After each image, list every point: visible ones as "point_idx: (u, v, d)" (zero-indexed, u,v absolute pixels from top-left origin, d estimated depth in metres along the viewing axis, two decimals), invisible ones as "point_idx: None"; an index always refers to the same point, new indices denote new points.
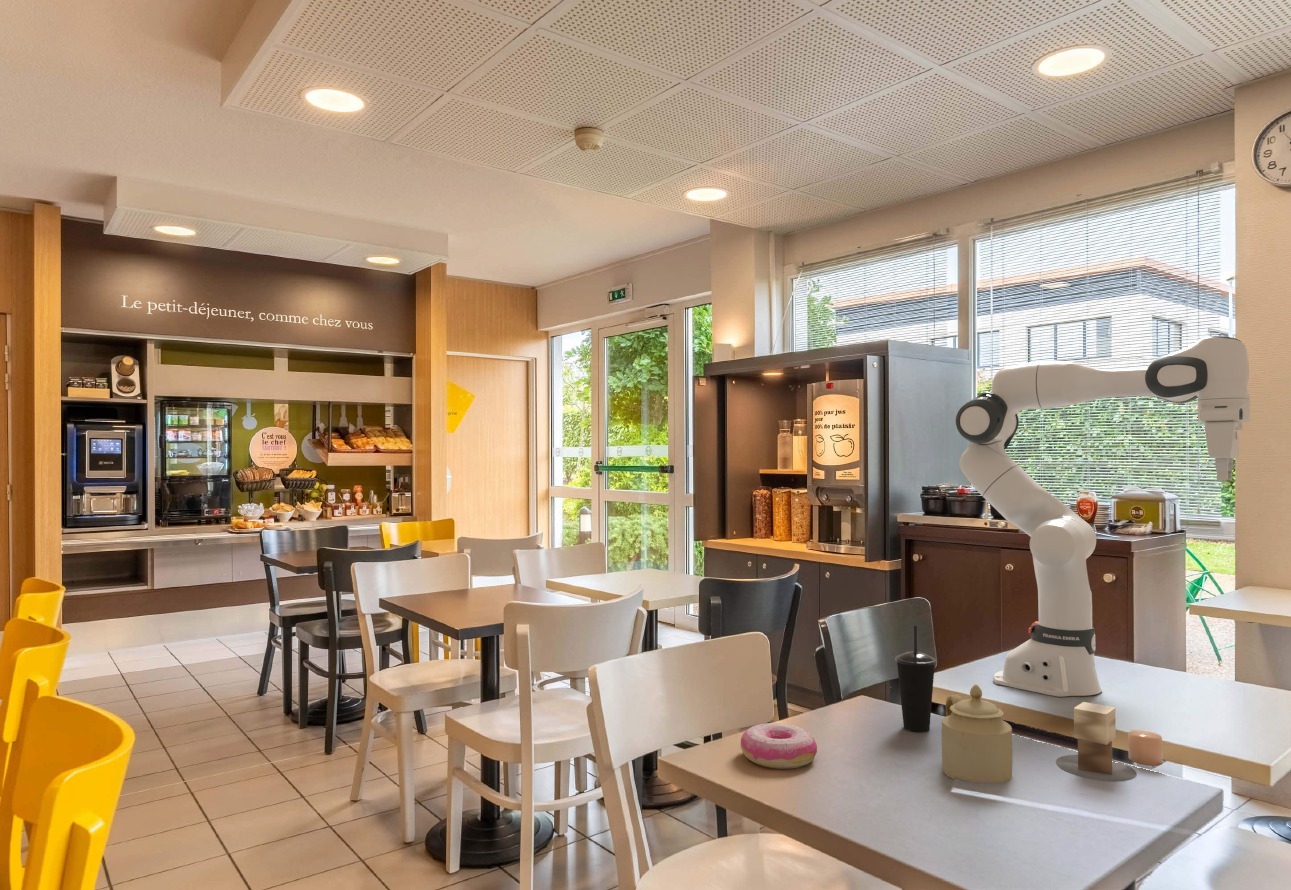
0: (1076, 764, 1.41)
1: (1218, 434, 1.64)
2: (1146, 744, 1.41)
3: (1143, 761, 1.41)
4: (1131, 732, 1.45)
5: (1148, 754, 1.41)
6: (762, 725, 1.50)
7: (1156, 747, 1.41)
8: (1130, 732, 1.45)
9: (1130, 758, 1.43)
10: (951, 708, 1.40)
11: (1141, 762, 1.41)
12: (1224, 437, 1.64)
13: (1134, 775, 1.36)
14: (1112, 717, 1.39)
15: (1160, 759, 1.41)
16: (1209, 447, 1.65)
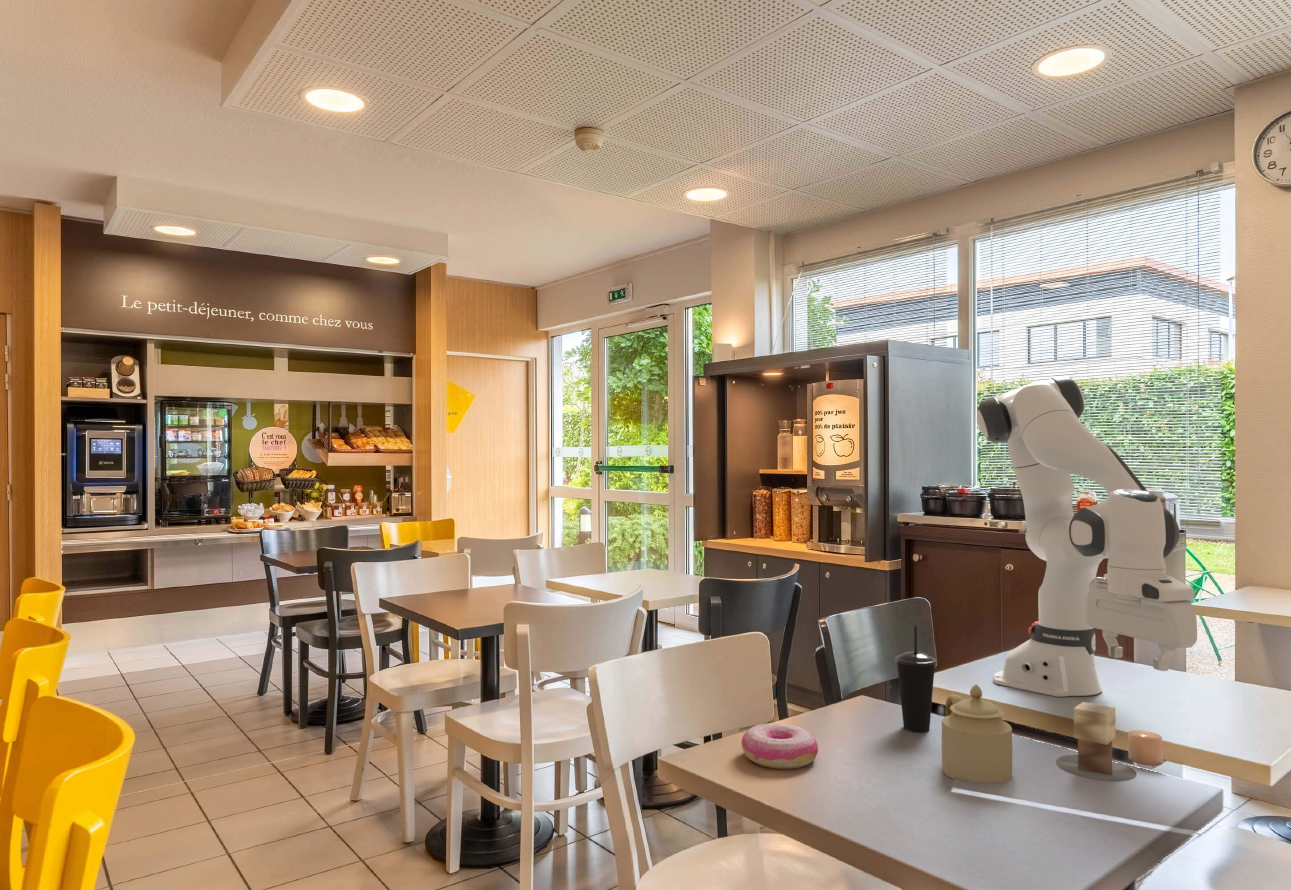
0: (1076, 764, 1.41)
1: (1186, 619, 1.35)
2: (1146, 744, 1.41)
3: (1143, 761, 1.41)
4: (1131, 732, 1.45)
5: (1148, 754, 1.41)
6: (763, 725, 1.50)
7: (1156, 747, 1.41)
8: (1130, 732, 1.45)
9: (1130, 758, 1.43)
10: (951, 708, 1.40)
11: (1141, 762, 1.41)
12: (1191, 623, 1.35)
13: (1134, 775, 1.36)
14: (1112, 717, 1.39)
15: (1160, 759, 1.41)
16: (1180, 636, 1.34)
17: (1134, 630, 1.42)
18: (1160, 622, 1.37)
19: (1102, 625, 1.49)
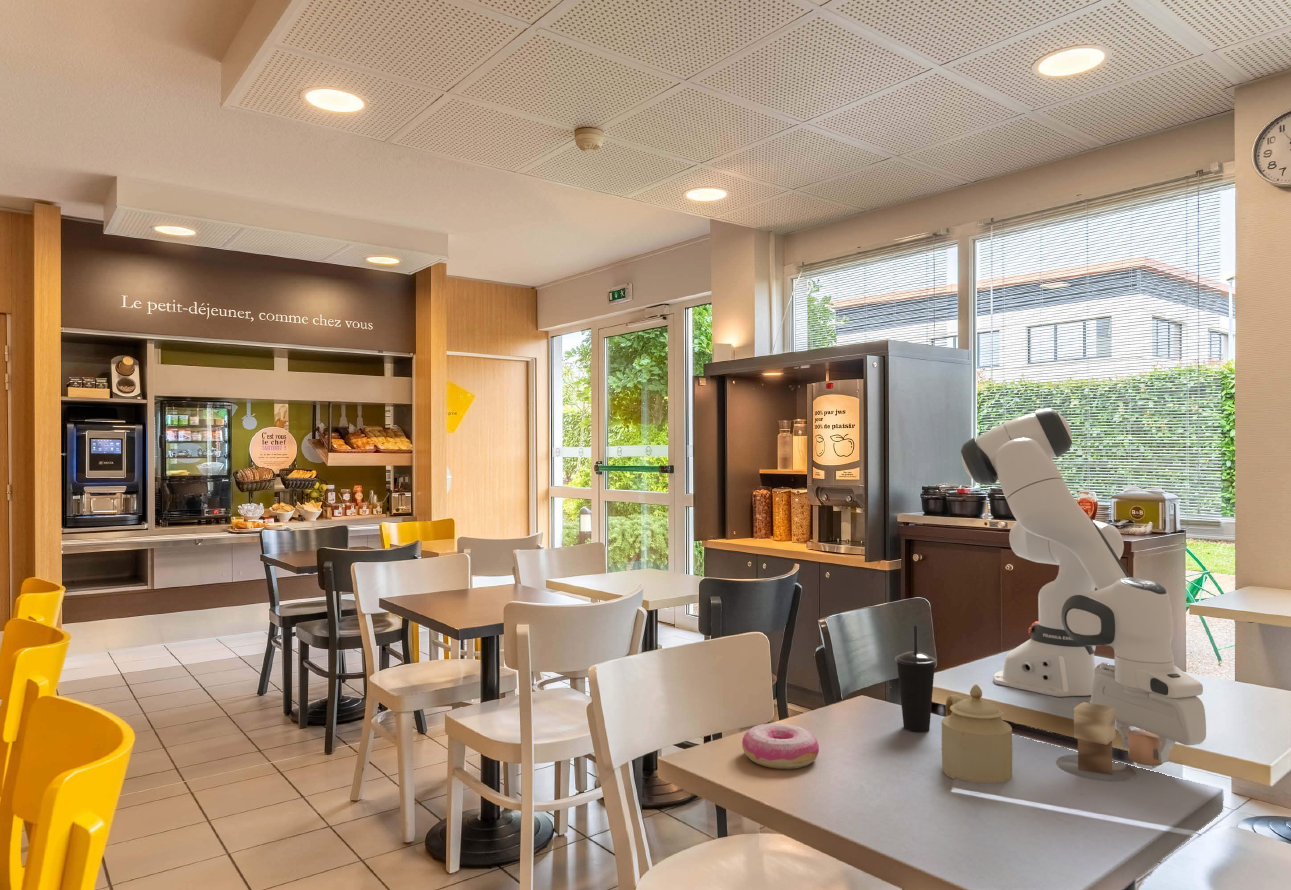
0: (1076, 764, 1.41)
1: (1195, 716, 1.34)
2: (1146, 743, 1.41)
3: (1143, 761, 1.41)
4: (1131, 732, 1.45)
5: (1147, 754, 1.41)
6: (764, 725, 1.50)
7: (1156, 746, 1.41)
8: (1130, 732, 1.45)
9: (1130, 758, 1.43)
10: (951, 708, 1.40)
11: (1141, 762, 1.41)
12: (1200, 719, 1.34)
13: (1134, 775, 1.36)
14: (1112, 717, 1.39)
15: None
16: (1189, 733, 1.33)
17: (1142, 722, 1.42)
18: (1169, 717, 1.37)
19: None
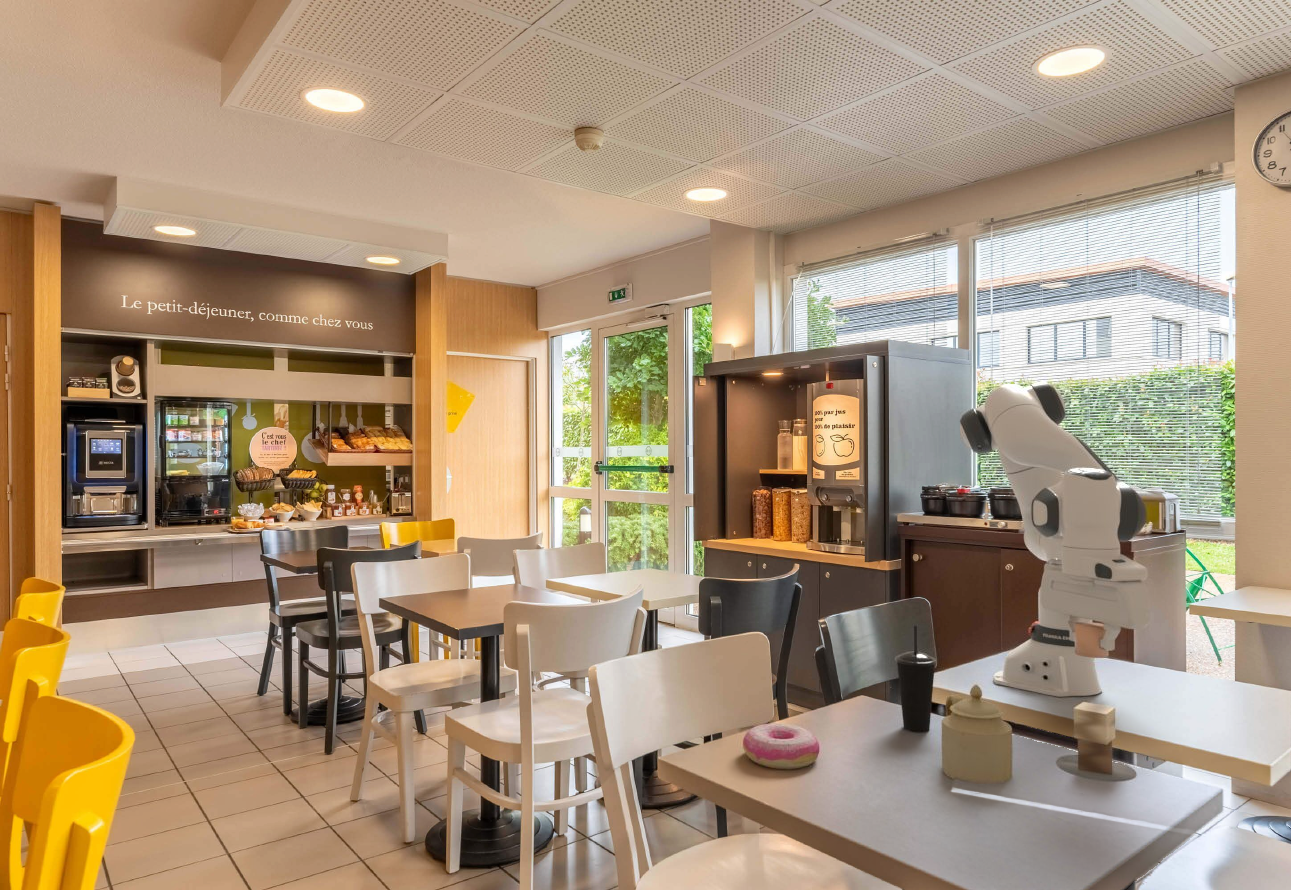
0: (1076, 764, 1.41)
1: (1139, 599, 1.31)
2: (1092, 632, 1.38)
3: (1088, 650, 1.39)
4: (1077, 623, 1.42)
5: (1093, 643, 1.38)
6: (764, 725, 1.50)
7: (1101, 635, 1.38)
8: (1076, 623, 1.42)
9: (1076, 648, 1.41)
10: (951, 708, 1.40)
11: (1086, 651, 1.39)
12: (1144, 603, 1.31)
13: (1134, 775, 1.36)
14: (1112, 717, 1.39)
15: None
16: (1133, 616, 1.31)
17: (1087, 611, 1.39)
18: (1113, 602, 1.34)
19: (1056, 607, 1.46)
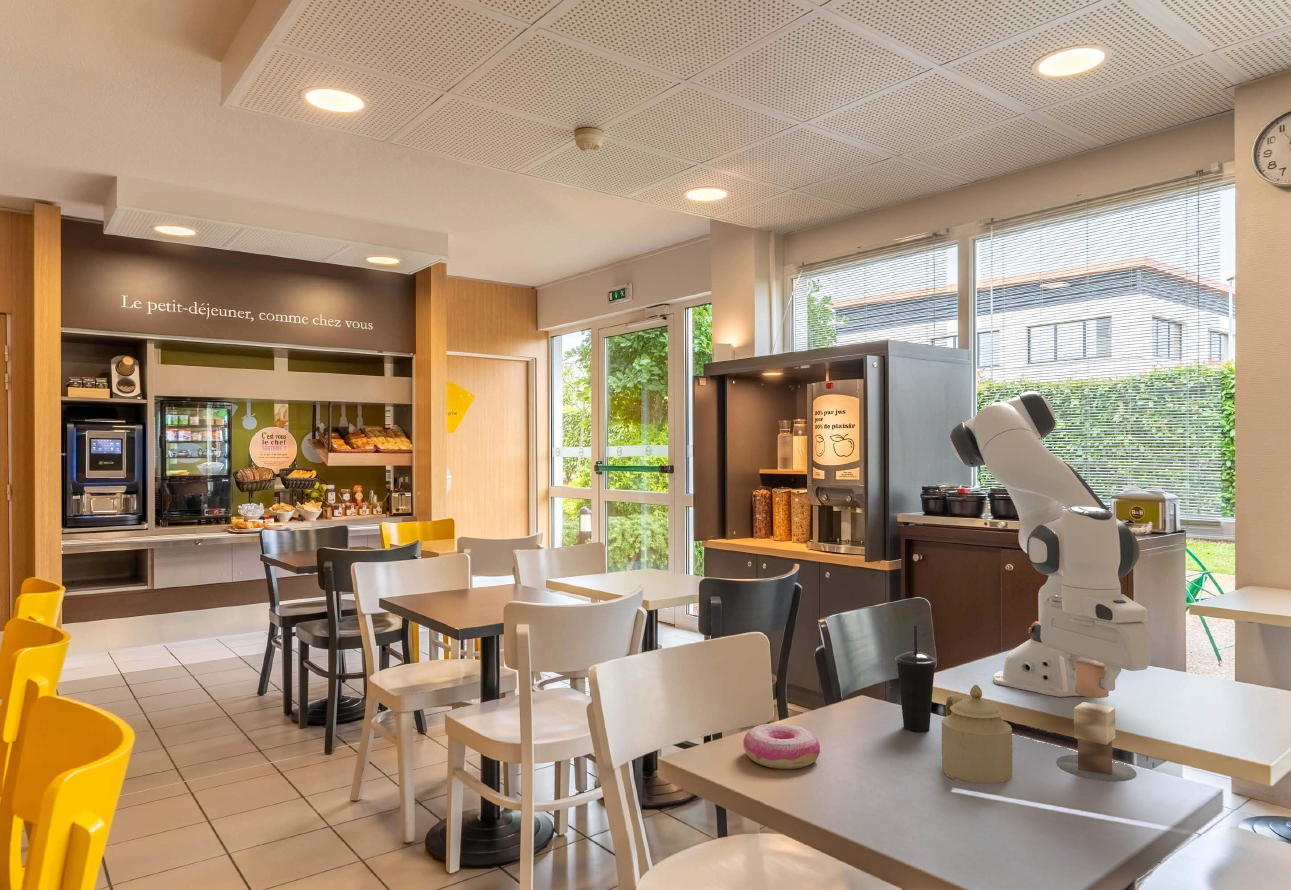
0: (1076, 764, 1.41)
1: (1139, 641, 1.31)
2: (1092, 672, 1.38)
3: (1089, 689, 1.38)
4: (1078, 662, 1.42)
5: (1093, 683, 1.38)
6: (765, 725, 1.50)
7: (1102, 674, 1.38)
8: (1077, 662, 1.42)
9: (1076, 687, 1.41)
10: (951, 708, 1.40)
11: (1087, 691, 1.39)
12: (1145, 644, 1.31)
13: (1134, 775, 1.36)
14: (1112, 717, 1.39)
15: None
16: (1133, 658, 1.30)
17: (1088, 651, 1.39)
18: (1113, 643, 1.34)
19: (1057, 645, 1.45)
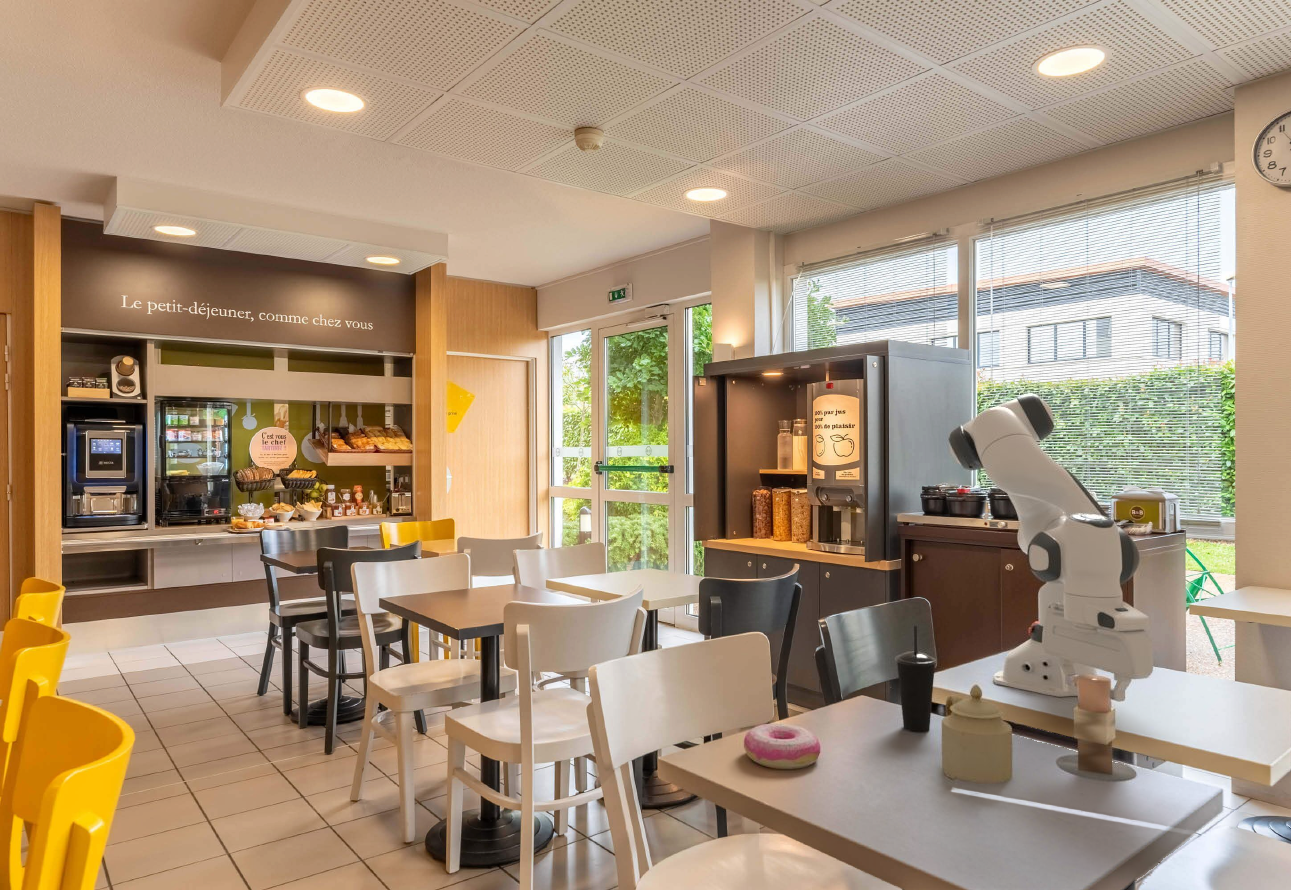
0: (1076, 764, 1.41)
1: (1141, 649, 1.31)
2: (1095, 686, 1.38)
3: (1091, 704, 1.38)
4: (1080, 676, 1.42)
5: (1096, 697, 1.38)
6: (765, 725, 1.50)
7: (1105, 689, 1.38)
8: (1079, 676, 1.42)
9: (1079, 702, 1.40)
10: (951, 708, 1.40)
11: (1089, 705, 1.38)
12: (1147, 653, 1.31)
13: (1134, 775, 1.36)
14: (1112, 717, 1.39)
15: (1109, 702, 1.38)
16: (1136, 666, 1.30)
17: (1090, 659, 1.39)
18: (1116, 651, 1.34)
19: (1059, 652, 1.45)
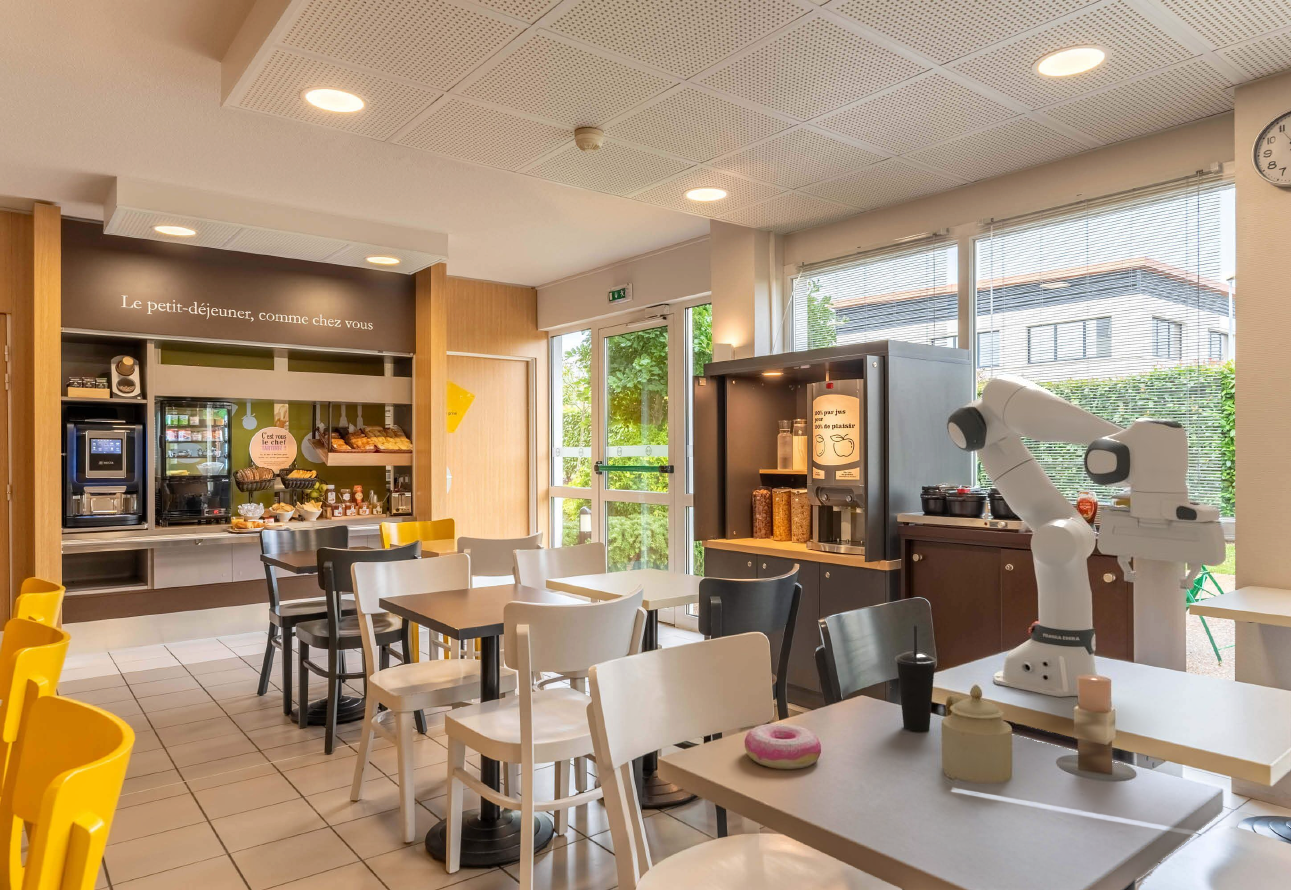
0: (1076, 764, 1.41)
1: (1219, 538, 1.41)
2: (1095, 686, 1.38)
3: (1091, 704, 1.38)
4: (1080, 676, 1.42)
5: (1096, 697, 1.38)
6: (766, 725, 1.50)
7: (1105, 689, 1.38)
8: (1079, 676, 1.42)
9: (1079, 702, 1.40)
10: (951, 708, 1.40)
11: (1090, 705, 1.38)
12: (1222, 541, 1.41)
13: (1134, 775, 1.36)
14: (1112, 717, 1.39)
15: (1109, 702, 1.38)
16: (1217, 554, 1.40)
17: (1160, 552, 1.47)
18: (1192, 542, 1.42)
19: (1120, 551, 1.52)
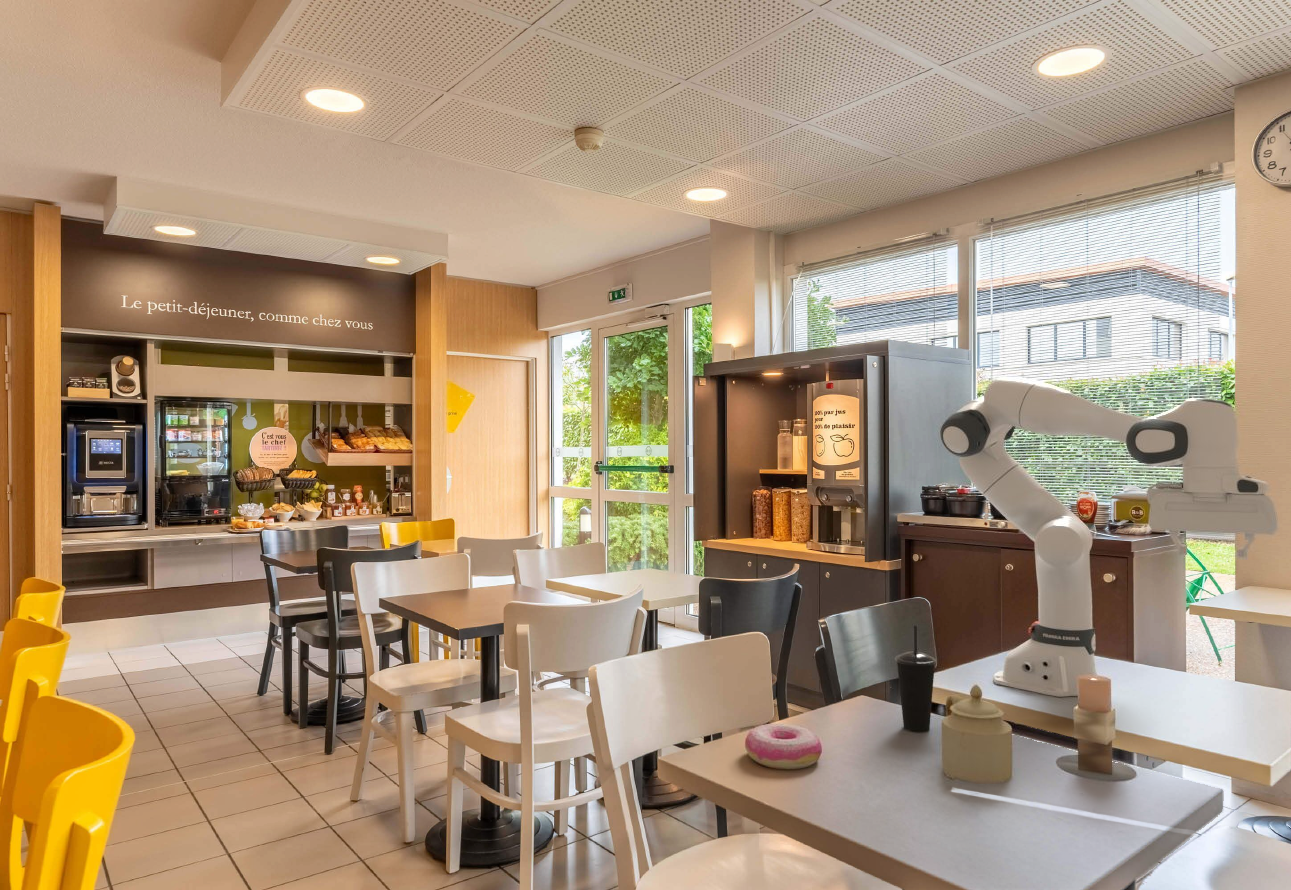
0: (1076, 764, 1.41)
1: (1275, 508, 1.50)
2: (1095, 686, 1.38)
3: (1091, 704, 1.38)
4: (1080, 676, 1.42)
5: (1096, 697, 1.38)
6: (767, 725, 1.50)
7: (1104, 689, 1.38)
8: (1079, 676, 1.42)
9: (1079, 702, 1.40)
10: (951, 708, 1.40)
11: (1089, 705, 1.38)
12: None
13: (1134, 775, 1.36)
14: (1112, 717, 1.39)
15: (1109, 702, 1.38)
16: (1276, 523, 1.49)
17: (1217, 525, 1.54)
18: (1251, 513, 1.51)
19: (1174, 526, 1.59)
